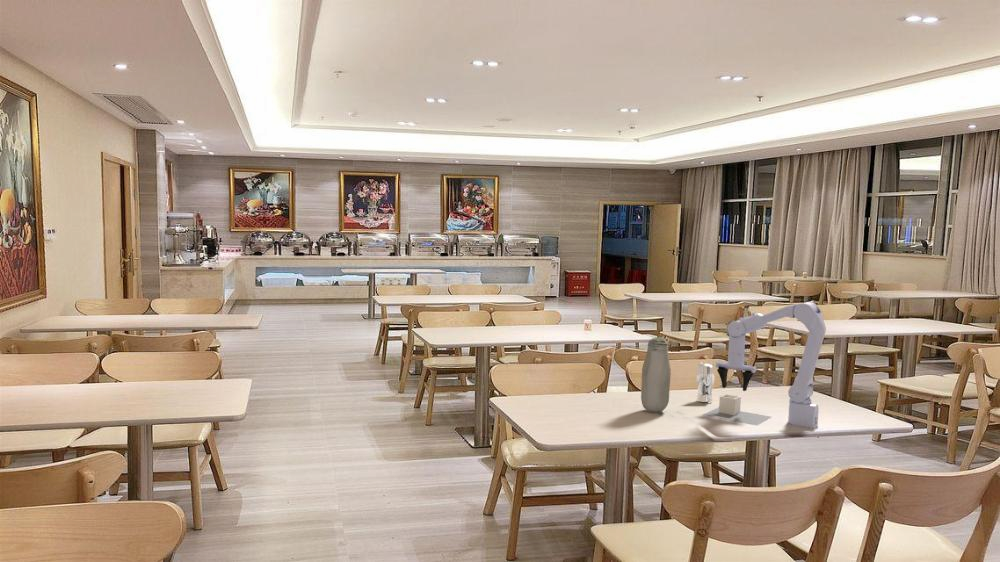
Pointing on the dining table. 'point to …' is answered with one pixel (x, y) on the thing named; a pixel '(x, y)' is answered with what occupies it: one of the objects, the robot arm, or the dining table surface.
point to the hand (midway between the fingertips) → (734, 389)
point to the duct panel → (739, 417)
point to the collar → (729, 404)
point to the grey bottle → (656, 376)
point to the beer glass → (705, 381)
